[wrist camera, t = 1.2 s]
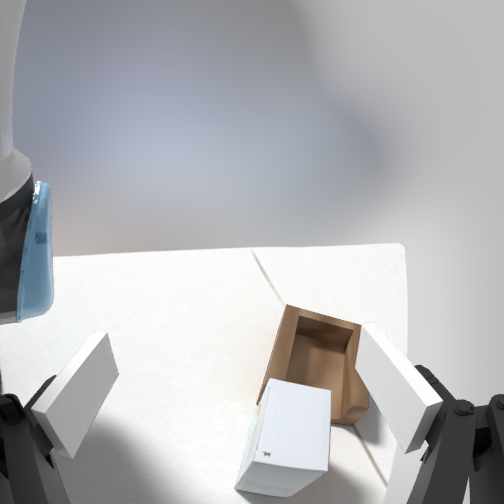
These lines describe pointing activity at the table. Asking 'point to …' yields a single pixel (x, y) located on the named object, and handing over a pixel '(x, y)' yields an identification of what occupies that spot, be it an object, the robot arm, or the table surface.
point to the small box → (286, 440)
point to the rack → (320, 360)
